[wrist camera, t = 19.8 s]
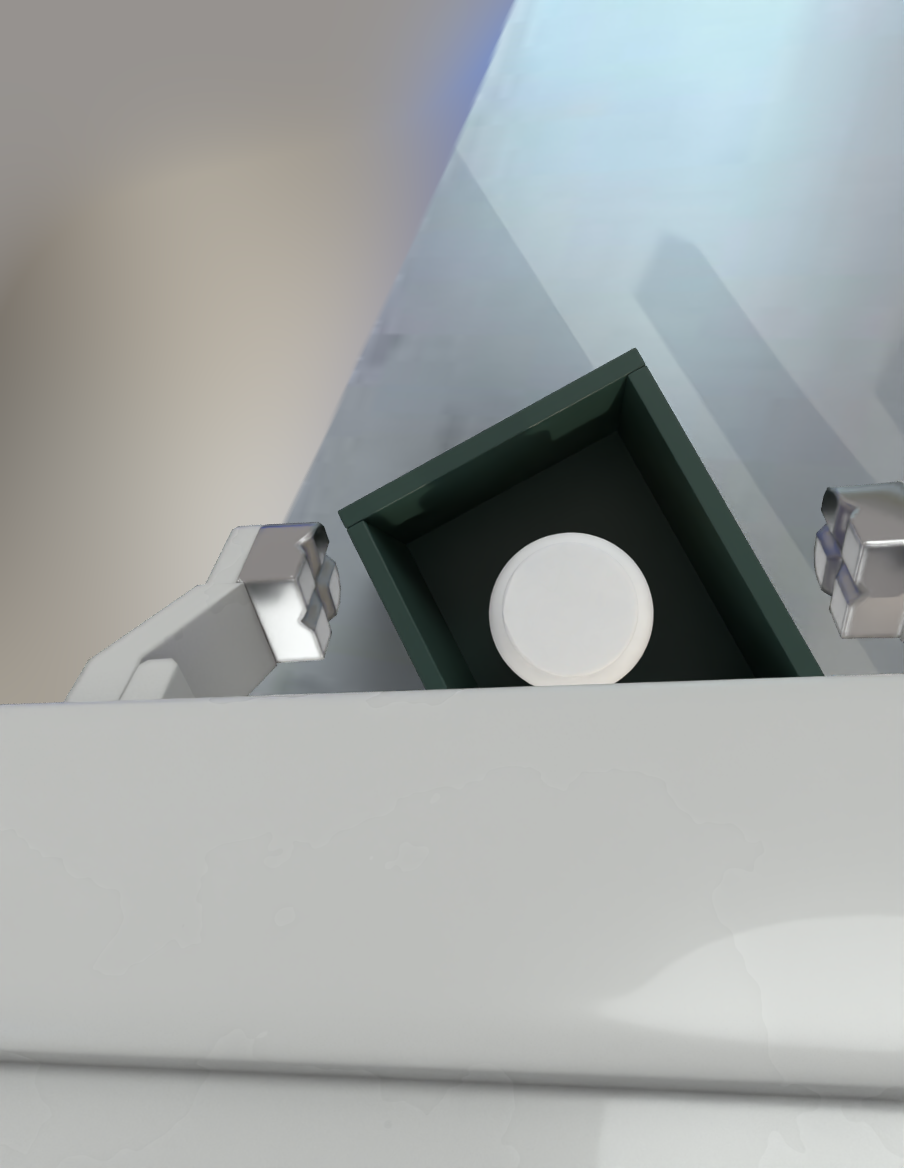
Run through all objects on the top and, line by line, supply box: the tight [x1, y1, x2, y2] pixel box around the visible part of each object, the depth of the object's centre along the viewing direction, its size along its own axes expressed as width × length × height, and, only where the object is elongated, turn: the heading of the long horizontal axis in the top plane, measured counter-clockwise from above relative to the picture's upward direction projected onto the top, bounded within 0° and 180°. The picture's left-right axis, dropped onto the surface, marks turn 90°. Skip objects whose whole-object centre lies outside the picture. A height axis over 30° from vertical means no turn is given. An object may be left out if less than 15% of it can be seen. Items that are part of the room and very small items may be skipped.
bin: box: [338, 348, 824, 690], centre depth 30 cm, size 13×11×8 cm
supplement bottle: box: [489, 533, 653, 686], centre depth 28 cm, size 5×5×10 cm
